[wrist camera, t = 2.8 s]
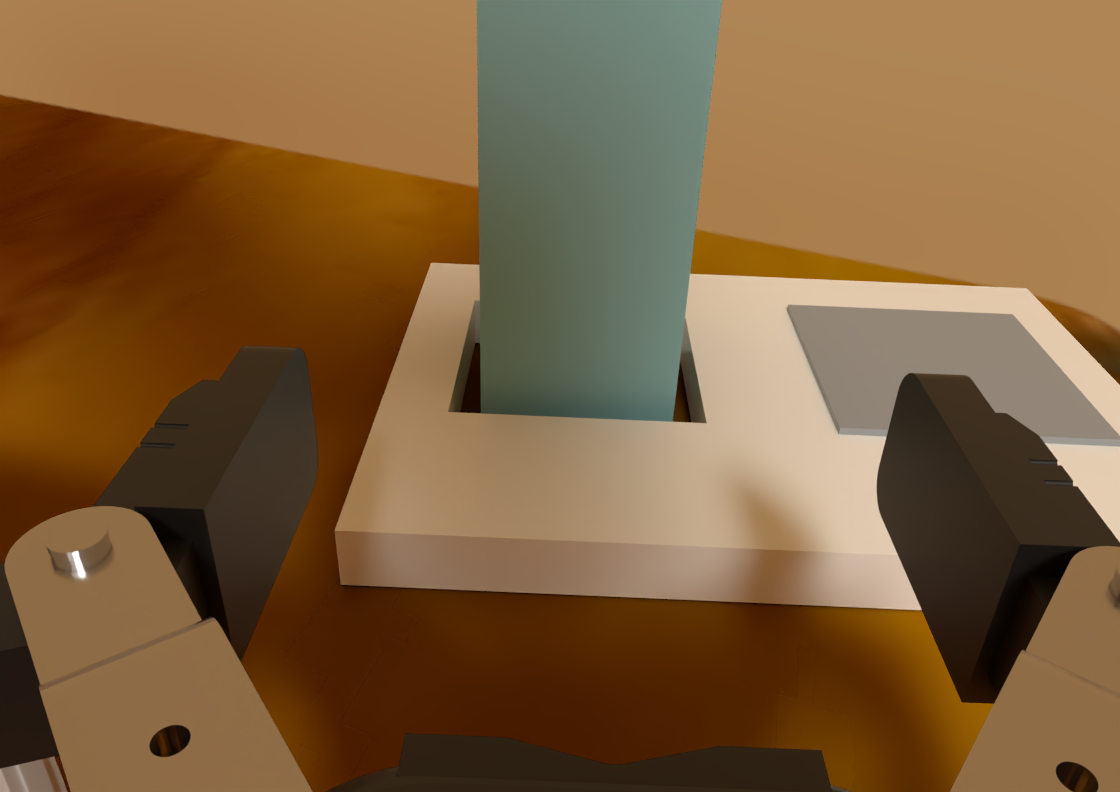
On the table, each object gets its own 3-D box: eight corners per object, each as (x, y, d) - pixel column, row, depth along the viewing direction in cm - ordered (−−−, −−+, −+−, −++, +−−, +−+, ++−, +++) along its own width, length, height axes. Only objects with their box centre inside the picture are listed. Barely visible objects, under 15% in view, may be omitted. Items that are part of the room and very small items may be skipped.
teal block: (481, 446, 25) (476, -50, 19) (496, 356, 29) (497, -73, 23) (668, 454, 25) (727, -40, 19) (657, 363, 29) (700, -64, 23)
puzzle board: (340, 584, 20) (333, 522, 19) (432, 303, 32) (430, 257, 31) (1268, 625, 20) (1303, 565, 19) (1013, 328, 32) (1028, 282, 31)
